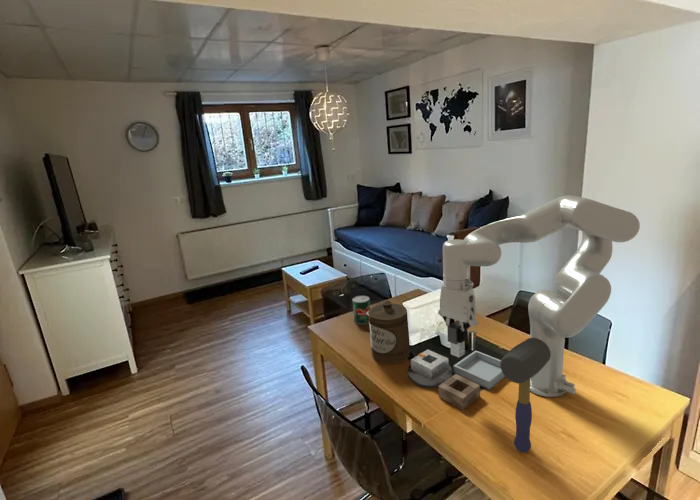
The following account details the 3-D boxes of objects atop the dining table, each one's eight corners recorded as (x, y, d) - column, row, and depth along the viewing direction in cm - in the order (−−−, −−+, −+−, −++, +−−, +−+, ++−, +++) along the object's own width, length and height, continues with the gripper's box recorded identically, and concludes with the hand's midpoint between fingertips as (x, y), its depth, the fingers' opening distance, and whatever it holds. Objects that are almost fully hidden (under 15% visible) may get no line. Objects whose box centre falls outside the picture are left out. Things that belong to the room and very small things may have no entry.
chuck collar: (448, 368, 133) (448, 357, 132) (431, 380, 128) (431, 368, 127) (428, 359, 140) (427, 348, 139) (411, 369, 135) (410, 358, 134)
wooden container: (363, 354, 151) (359, 302, 145) (389, 340, 160) (386, 290, 155) (392, 369, 140) (388, 313, 134) (418, 352, 149) (415, 299, 144)
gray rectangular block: (458, 348, 122) (458, 319, 119) (467, 351, 119) (466, 322, 117) (448, 355, 118) (447, 326, 115) (456, 359, 116) (455, 329, 113)
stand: (479, 396, 122) (480, 385, 120) (463, 410, 116) (462, 398, 115) (455, 384, 128) (455, 373, 127) (438, 396, 123) (438, 386, 122)
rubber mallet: (520, 430, 106) (523, 331, 99) (548, 444, 101) (554, 341, 93) (495, 455, 99) (497, 350, 91) (524, 472, 93) (528, 362, 85)
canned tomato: (361, 326, 175) (360, 303, 172) (350, 321, 181) (348, 299, 178) (374, 320, 180) (373, 298, 177) (363, 315, 186) (361, 294, 183)
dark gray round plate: (461, 374, 133) (461, 369, 133) (433, 394, 124) (433, 388, 124) (427, 358, 145) (426, 353, 144) (399, 375, 136) (399, 370, 135)
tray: (510, 372, 132) (511, 364, 132) (489, 389, 124) (489, 381, 123) (475, 357, 143) (475, 350, 142) (453, 373, 134) (453, 365, 134)
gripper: (489, 284, 109) (488, 343, 114) (441, 273, 121) (442, 326, 126) (474, 292, 104) (474, 353, 109) (426, 280, 116) (428, 335, 121)
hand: (457, 338), depth 117 cm, fingers closed on gray rectangular block, 3 cm apart
